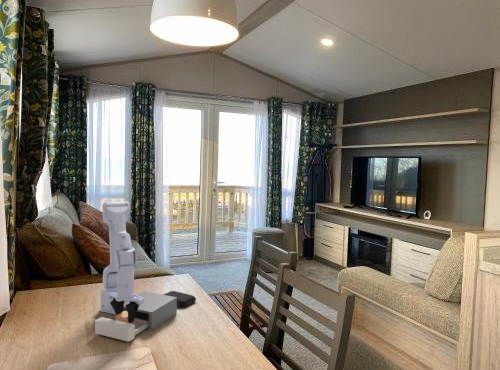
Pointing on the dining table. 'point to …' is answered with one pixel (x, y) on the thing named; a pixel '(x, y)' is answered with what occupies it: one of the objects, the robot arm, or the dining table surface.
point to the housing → (155, 308)
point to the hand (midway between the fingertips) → (125, 320)
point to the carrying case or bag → (182, 298)
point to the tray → (119, 328)
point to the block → (123, 317)
